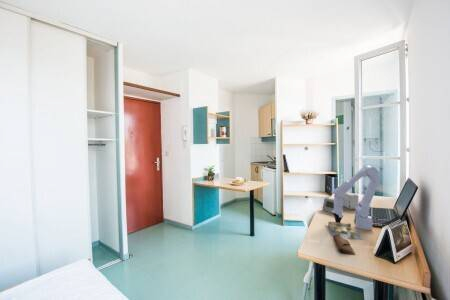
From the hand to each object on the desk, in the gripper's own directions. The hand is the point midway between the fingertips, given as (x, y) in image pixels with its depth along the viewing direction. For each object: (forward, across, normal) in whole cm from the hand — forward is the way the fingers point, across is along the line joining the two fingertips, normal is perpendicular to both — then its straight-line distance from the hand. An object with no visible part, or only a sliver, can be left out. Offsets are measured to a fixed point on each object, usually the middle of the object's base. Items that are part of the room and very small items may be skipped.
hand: (337, 224), depth 158 cm
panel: (+1, +9, 0) cm, 9 cm away
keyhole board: (+1, +12, 0) cm, 12 cm away
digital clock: (+2, -32, +3) cm, 32 cm away
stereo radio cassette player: (+2, -52, +20) cm, 56 cm away
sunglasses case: (+2, +32, -4) cm, 32 cm away
